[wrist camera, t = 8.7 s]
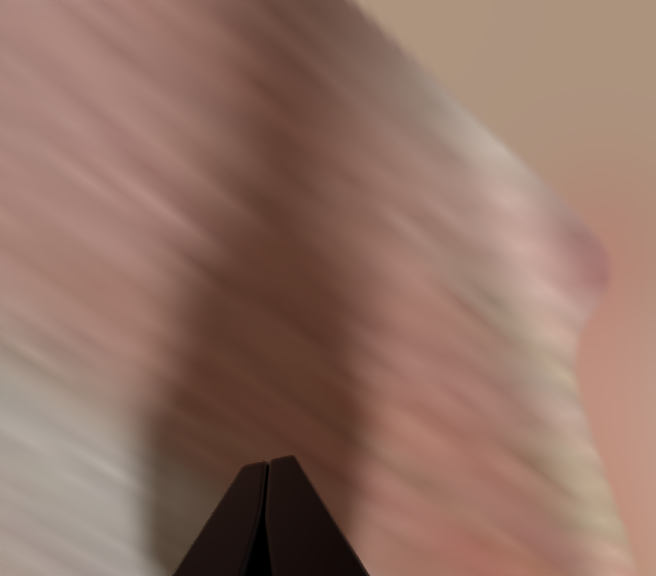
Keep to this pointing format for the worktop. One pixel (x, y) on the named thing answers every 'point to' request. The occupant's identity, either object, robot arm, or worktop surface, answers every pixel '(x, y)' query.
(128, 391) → the worktop surface
